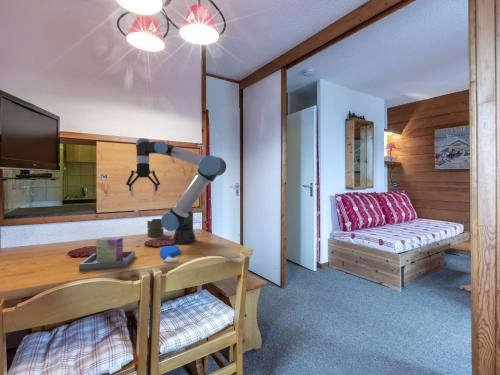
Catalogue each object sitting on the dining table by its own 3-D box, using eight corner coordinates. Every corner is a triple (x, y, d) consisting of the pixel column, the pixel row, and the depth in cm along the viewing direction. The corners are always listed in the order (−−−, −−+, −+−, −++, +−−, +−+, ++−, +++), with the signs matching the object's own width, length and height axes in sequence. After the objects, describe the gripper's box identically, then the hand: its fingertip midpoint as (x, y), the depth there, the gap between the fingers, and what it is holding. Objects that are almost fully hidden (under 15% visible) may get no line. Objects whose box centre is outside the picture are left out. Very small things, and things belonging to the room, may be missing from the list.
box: (123, 260, 130) (122, 237, 130) (116, 263, 124) (116, 239, 124) (104, 259, 131) (103, 236, 131) (96, 263, 125) (96, 239, 125)
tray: (134, 256, 138) (134, 251, 138) (125, 267, 121) (125, 261, 121) (94, 258, 134) (94, 253, 134) (79, 270, 117) (79, 264, 117)
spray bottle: (160, 246, 149) (159, 259, 126) (179, 245, 153) (181, 257, 129) (160, 251, 149) (159, 265, 126) (179, 249, 153) (181, 263, 130)
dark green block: (144, 220, 185) (153, 218, 196) (144, 237, 186) (153, 234, 197) (157, 221, 183) (166, 219, 194) (157, 238, 183) (166, 234, 194)
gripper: (120, 162, 156) (121, 196, 156) (162, 162, 162) (163, 196, 162) (123, 163, 163) (124, 196, 163) (164, 163, 169) (164, 195, 169)
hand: (143, 196), depth 163 cm, fingers open, 13 cm apart
